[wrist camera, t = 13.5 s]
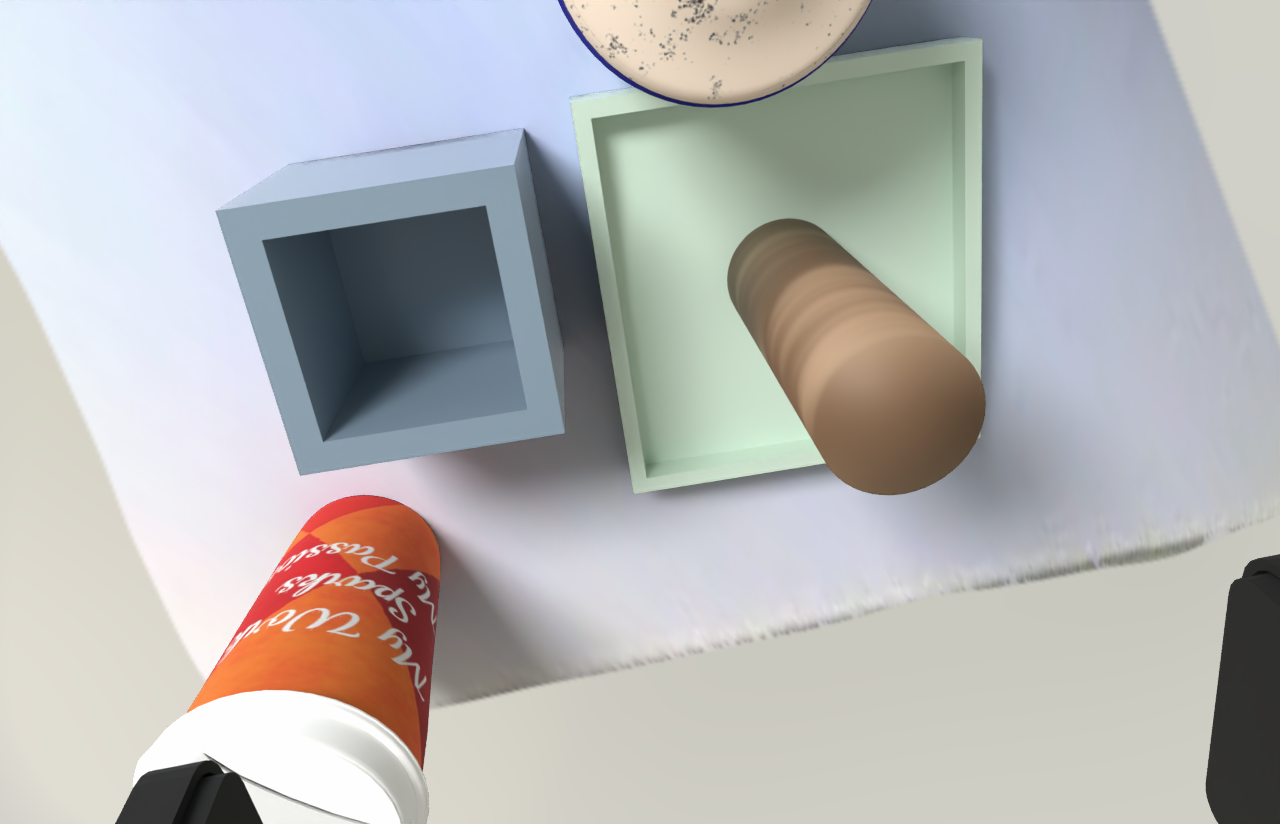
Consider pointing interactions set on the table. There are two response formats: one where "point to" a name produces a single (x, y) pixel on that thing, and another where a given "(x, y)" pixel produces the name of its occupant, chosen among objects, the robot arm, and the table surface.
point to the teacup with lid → (713, 44)
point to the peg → (855, 360)
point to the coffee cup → (327, 676)
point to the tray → (757, 194)
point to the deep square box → (402, 300)
